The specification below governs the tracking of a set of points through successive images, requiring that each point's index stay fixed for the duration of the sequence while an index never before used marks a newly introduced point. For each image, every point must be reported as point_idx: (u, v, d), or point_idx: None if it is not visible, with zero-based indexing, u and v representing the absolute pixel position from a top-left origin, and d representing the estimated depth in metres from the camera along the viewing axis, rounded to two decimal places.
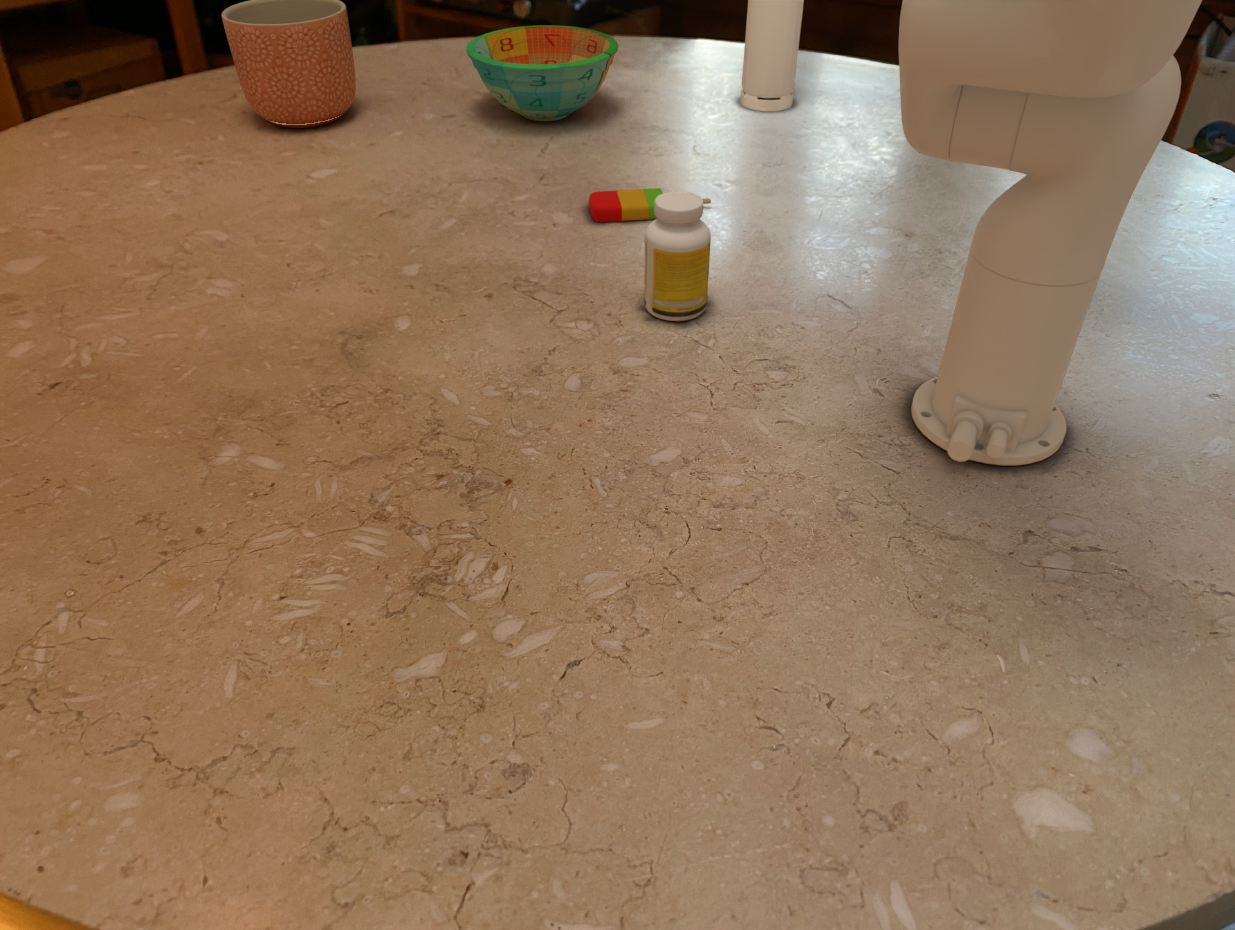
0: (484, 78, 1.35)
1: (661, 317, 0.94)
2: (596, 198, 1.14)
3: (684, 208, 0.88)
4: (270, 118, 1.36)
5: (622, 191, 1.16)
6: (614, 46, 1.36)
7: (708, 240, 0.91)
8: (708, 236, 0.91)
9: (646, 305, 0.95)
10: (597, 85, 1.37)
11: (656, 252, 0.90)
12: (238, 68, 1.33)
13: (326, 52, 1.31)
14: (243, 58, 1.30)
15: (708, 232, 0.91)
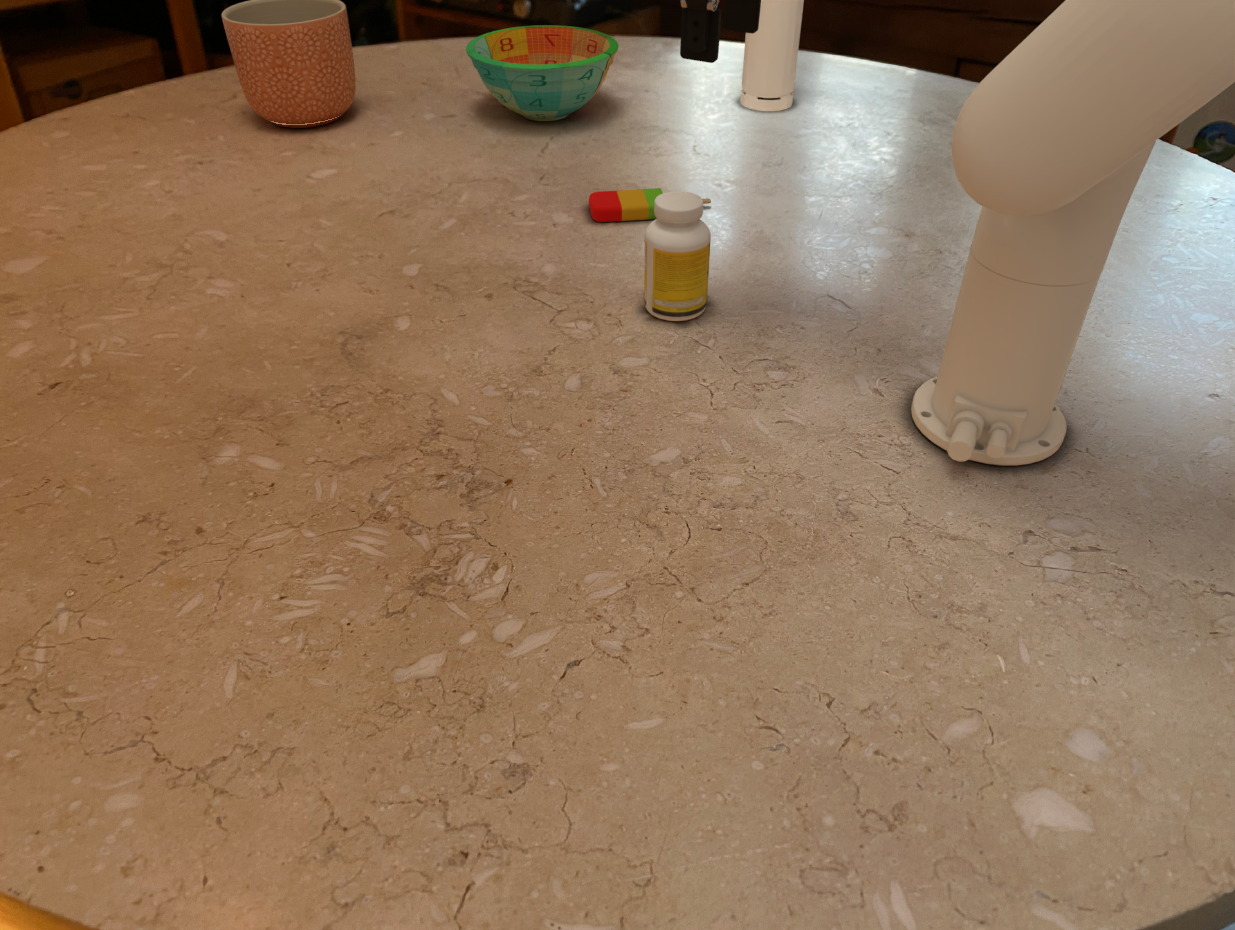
0: (484, 78, 1.35)
1: (661, 317, 0.94)
2: (596, 198, 1.14)
3: (684, 208, 0.88)
4: (270, 118, 1.36)
5: (622, 191, 1.16)
6: (614, 46, 1.36)
7: (708, 240, 0.91)
8: (708, 236, 0.91)
9: (646, 305, 0.95)
10: (597, 85, 1.37)
11: (656, 252, 0.90)
12: (238, 68, 1.33)
13: (326, 52, 1.31)
14: (243, 58, 1.30)
15: (708, 232, 0.91)
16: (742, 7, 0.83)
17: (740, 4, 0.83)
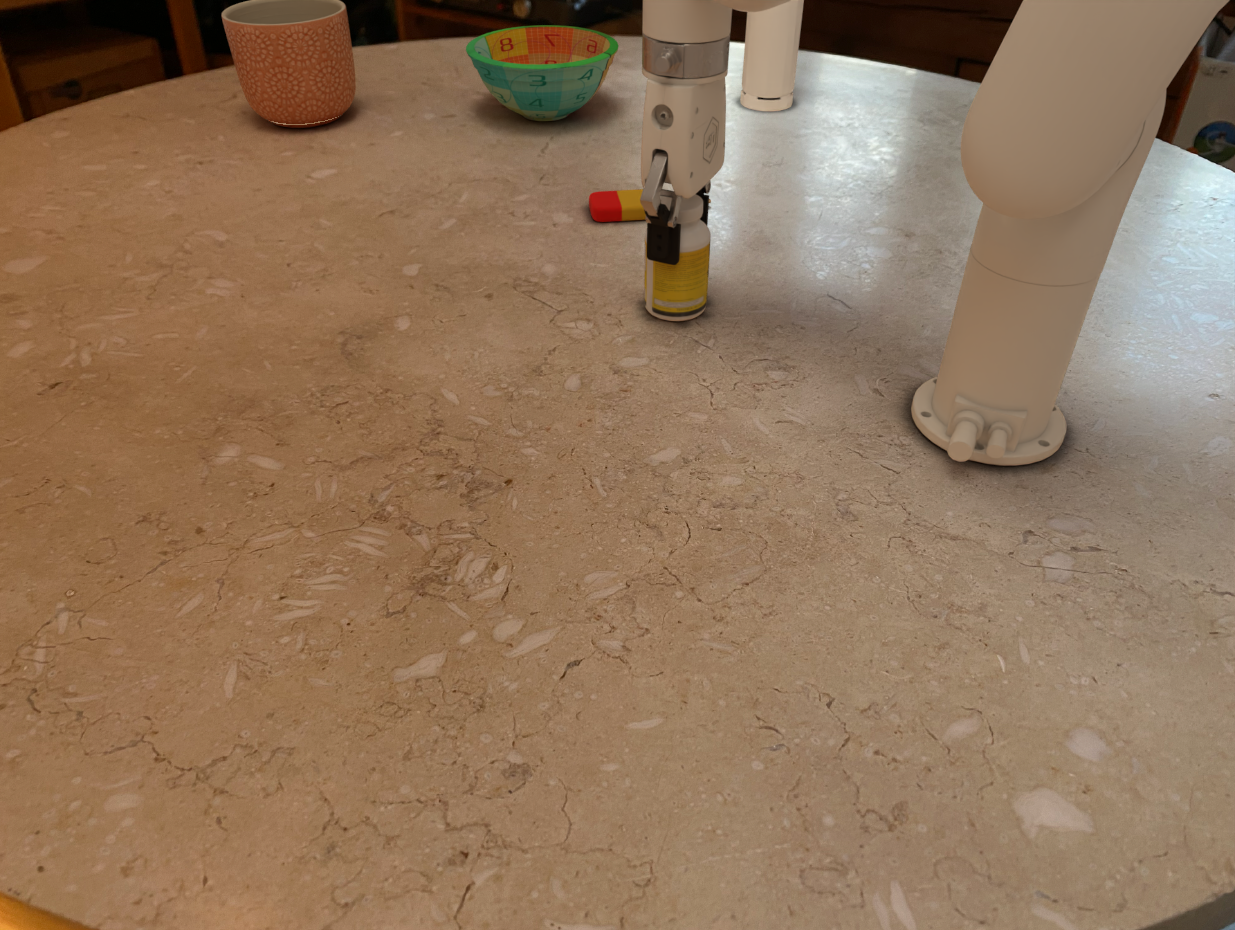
0: (484, 78, 1.35)
1: (661, 317, 0.94)
2: (596, 198, 1.14)
3: (684, 208, 0.88)
4: (270, 118, 1.36)
5: (622, 191, 1.16)
6: (614, 46, 1.36)
7: (708, 240, 0.91)
8: (708, 236, 0.91)
9: (646, 305, 0.95)
10: (597, 85, 1.37)
11: None
12: (238, 68, 1.33)
13: (326, 52, 1.31)
14: (243, 58, 1.30)
15: (708, 232, 0.91)
16: None
17: None
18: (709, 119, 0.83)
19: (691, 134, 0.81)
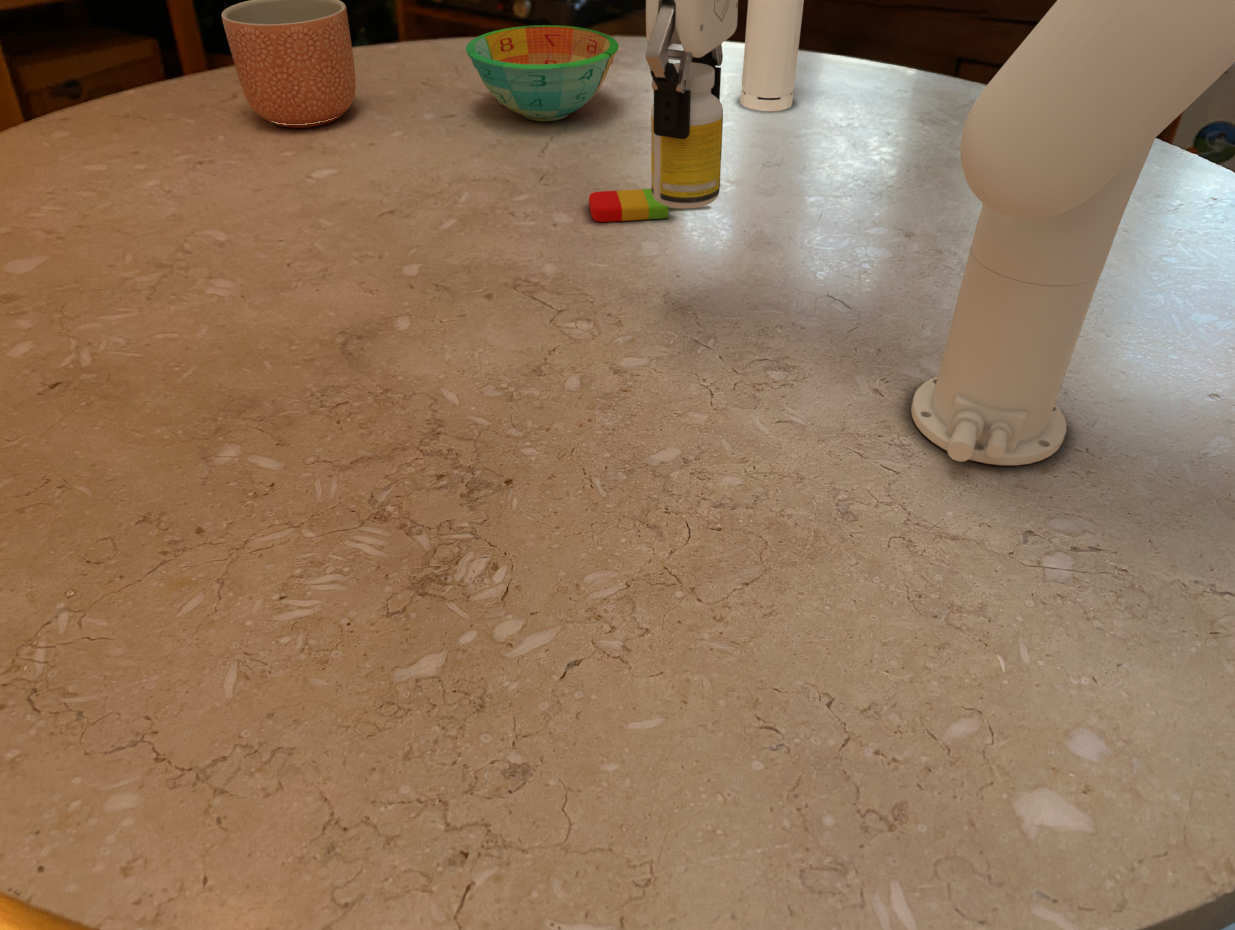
0: (484, 78, 1.35)
1: (670, 204, 0.86)
2: (596, 198, 1.14)
3: (694, 75, 0.80)
4: (270, 118, 1.36)
5: (622, 191, 1.16)
6: (614, 46, 1.36)
7: (720, 114, 0.83)
8: (720, 109, 0.83)
9: (653, 193, 0.88)
10: (597, 85, 1.37)
11: None
12: (238, 68, 1.33)
13: (326, 52, 1.31)
14: (243, 58, 1.30)
15: (720, 105, 0.83)
16: None
17: None
18: None
19: None
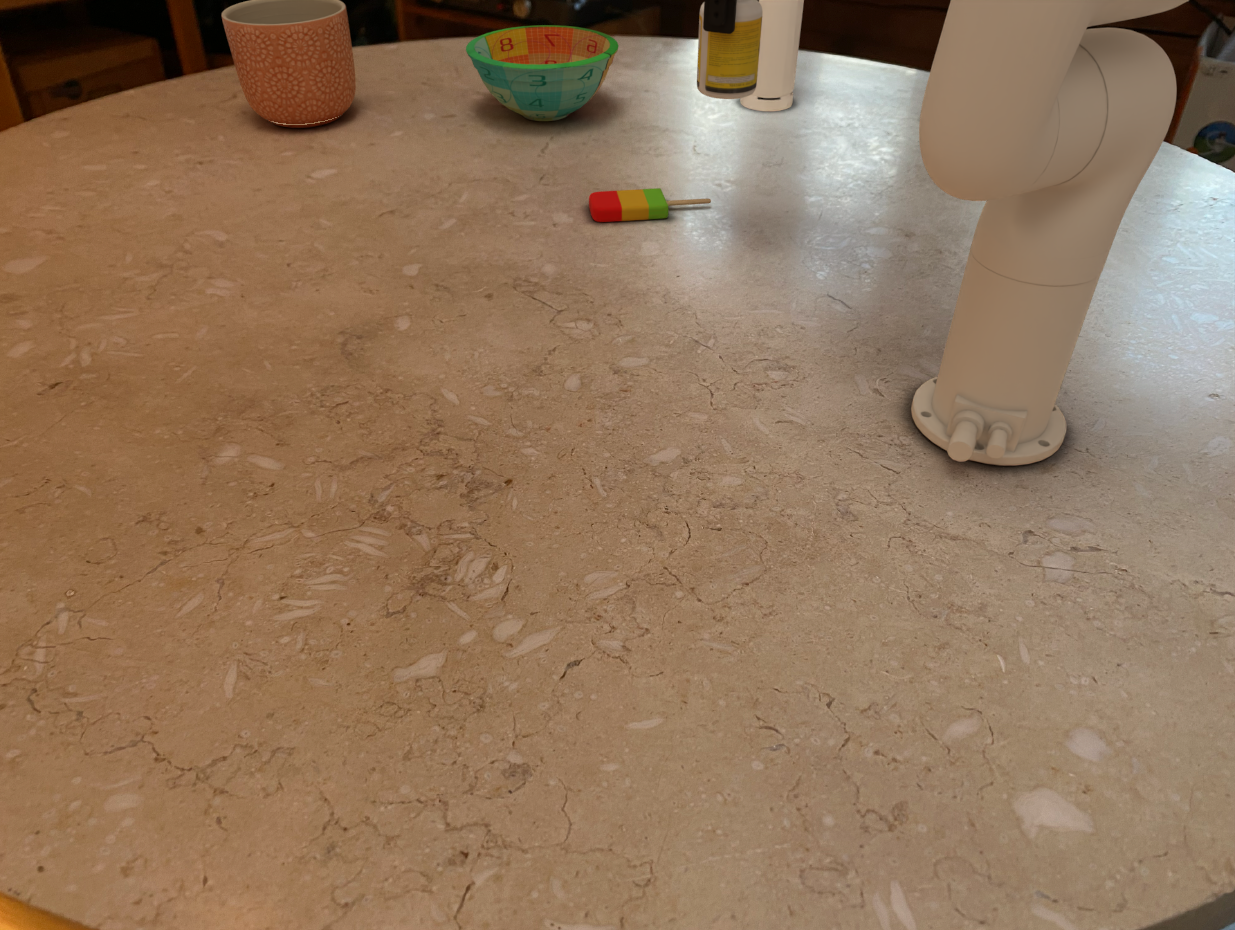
0: (484, 78, 1.35)
1: (714, 95, 0.99)
2: (596, 198, 1.14)
3: None
4: (270, 118, 1.36)
5: (622, 191, 1.16)
6: (614, 46, 1.36)
7: (760, 13, 0.95)
8: (760, 9, 0.95)
9: (699, 86, 1.00)
10: (597, 85, 1.37)
11: None
12: (238, 68, 1.33)
13: (326, 52, 1.31)
14: (243, 58, 1.30)
15: (760, 6, 0.96)
16: None
17: None
18: None
19: None
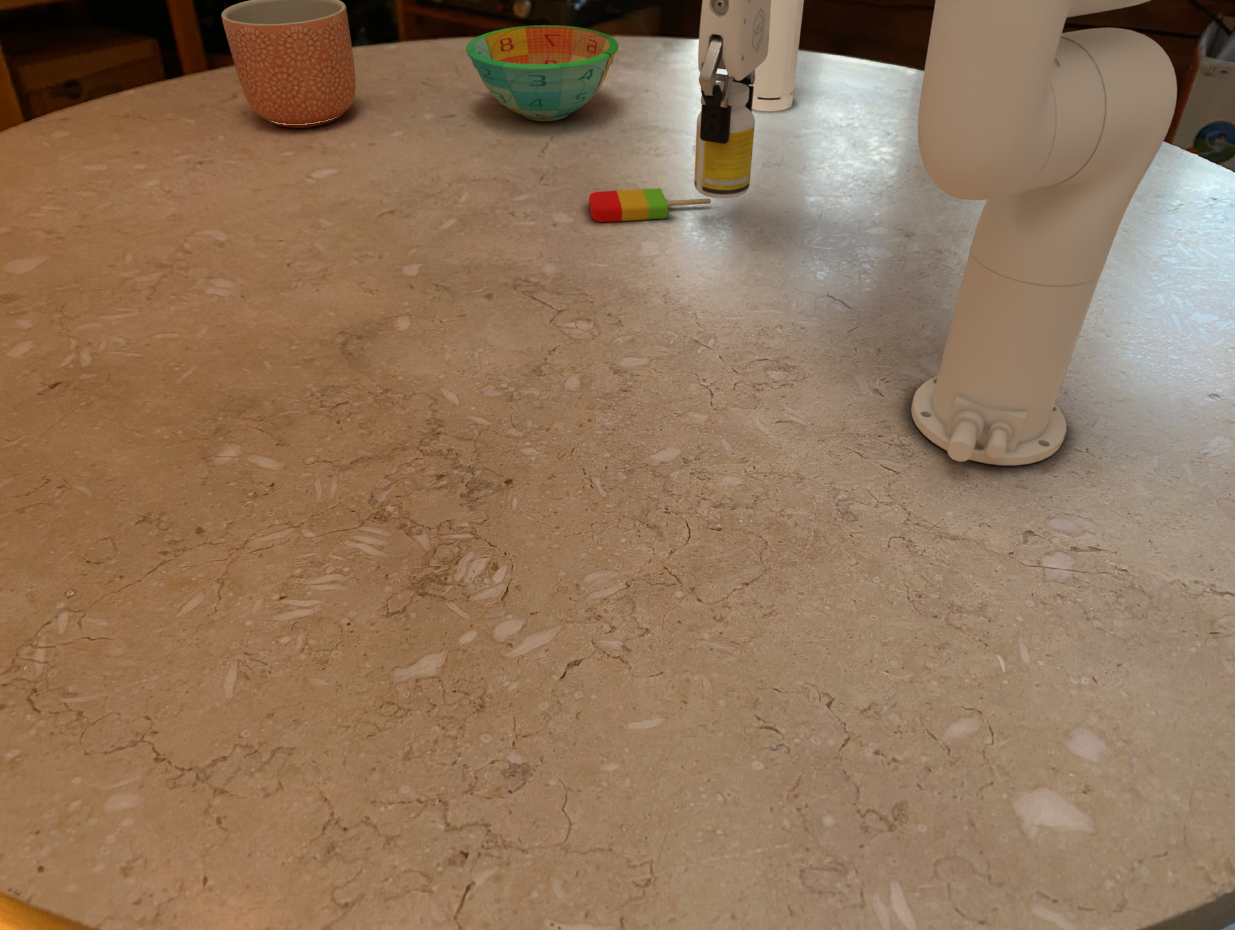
0: (484, 78, 1.35)
1: (710, 195, 1.07)
2: (596, 198, 1.14)
3: (733, 92, 1.01)
4: (270, 118, 1.36)
5: (622, 191, 1.16)
6: (614, 46, 1.36)
7: (753, 123, 1.04)
8: (753, 120, 1.04)
9: (696, 185, 1.08)
10: (597, 85, 1.37)
11: None
12: (238, 68, 1.33)
13: (326, 52, 1.31)
14: (243, 58, 1.30)
15: (753, 117, 1.04)
16: None
17: None
18: (758, 10, 0.96)
19: (744, 20, 0.94)
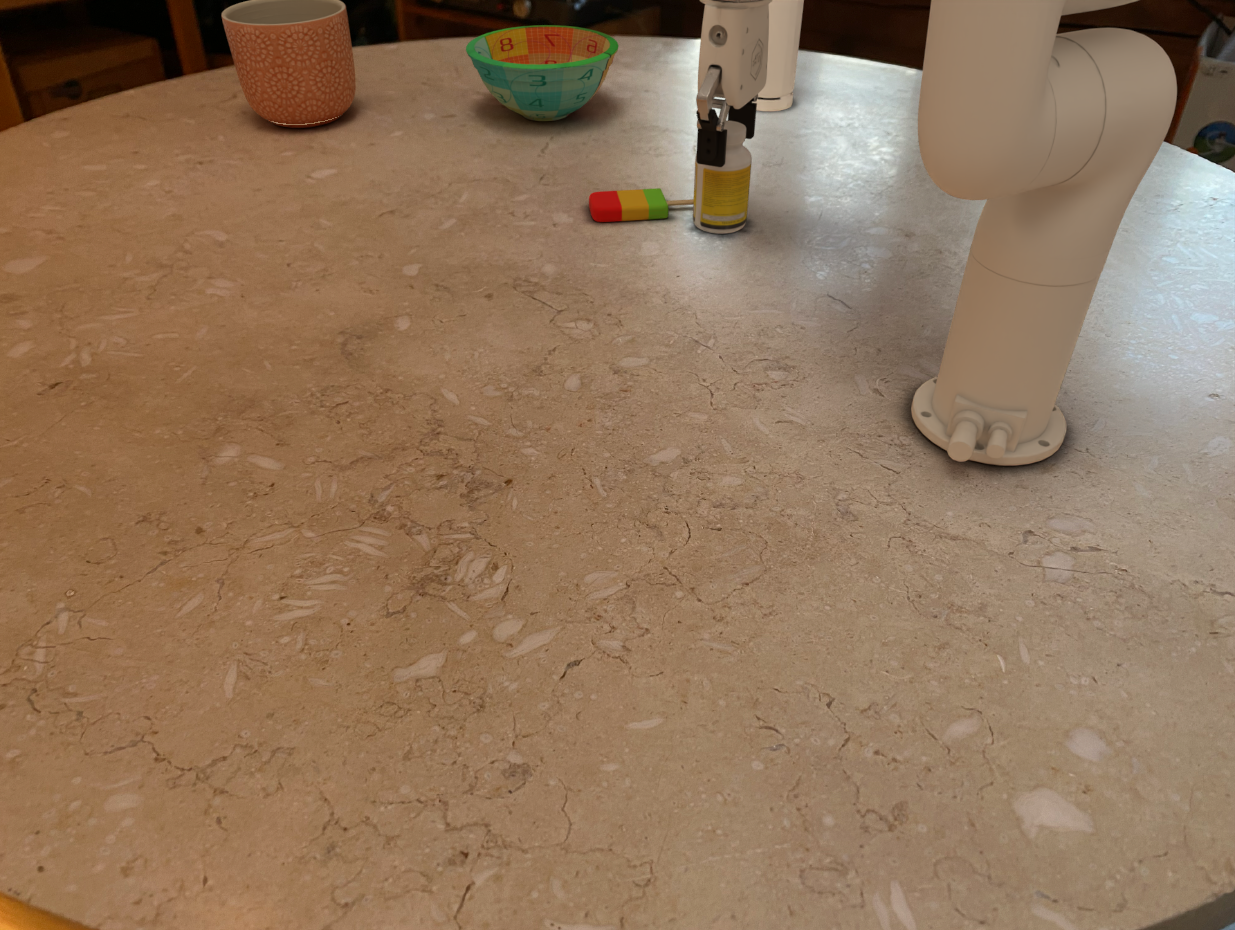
0: (484, 78, 1.35)
1: (708, 230, 1.10)
2: (596, 198, 1.14)
3: (730, 132, 1.04)
4: (270, 118, 1.36)
5: (622, 191, 1.16)
6: (614, 46, 1.36)
7: (750, 161, 1.06)
8: (750, 158, 1.06)
9: (695, 220, 1.11)
10: (597, 85, 1.37)
11: (705, 171, 1.06)
12: (238, 68, 1.33)
13: (326, 52, 1.31)
14: (243, 58, 1.30)
15: (750, 155, 1.07)
16: (741, 120, 1.08)
17: (740, 118, 1.08)
18: (756, 40, 0.98)
19: (742, 50, 0.95)
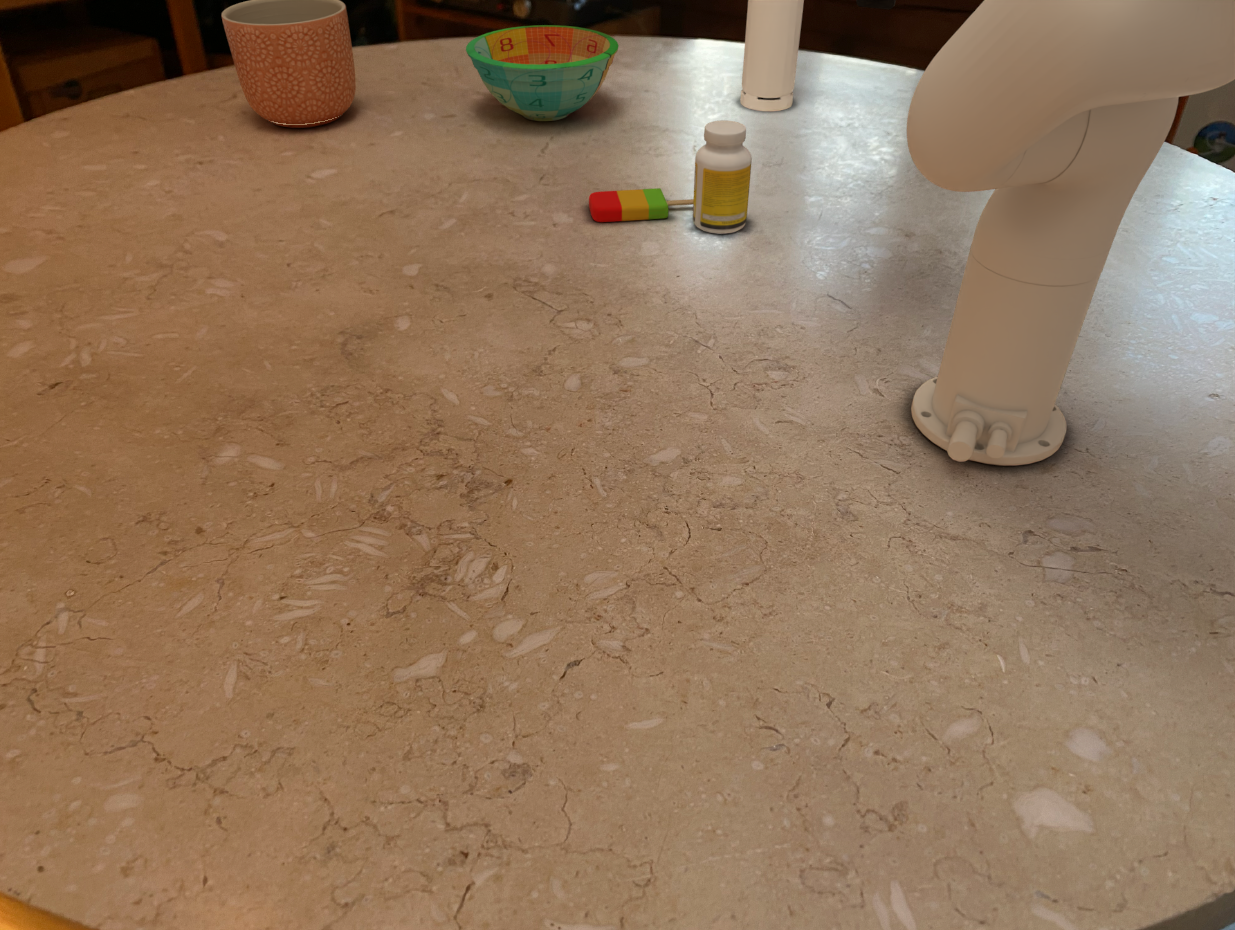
0: (484, 78, 1.35)
1: (708, 230, 1.10)
2: (596, 198, 1.14)
3: (730, 132, 1.04)
4: (270, 118, 1.36)
5: (622, 191, 1.16)
6: (614, 46, 1.36)
7: (750, 161, 1.06)
8: (750, 158, 1.06)
9: (695, 221, 1.11)
10: (597, 85, 1.37)
11: (705, 171, 1.06)
12: (238, 68, 1.33)
13: (326, 52, 1.31)
14: (243, 58, 1.30)
15: (750, 155, 1.07)
16: None
17: None
18: None
19: None
